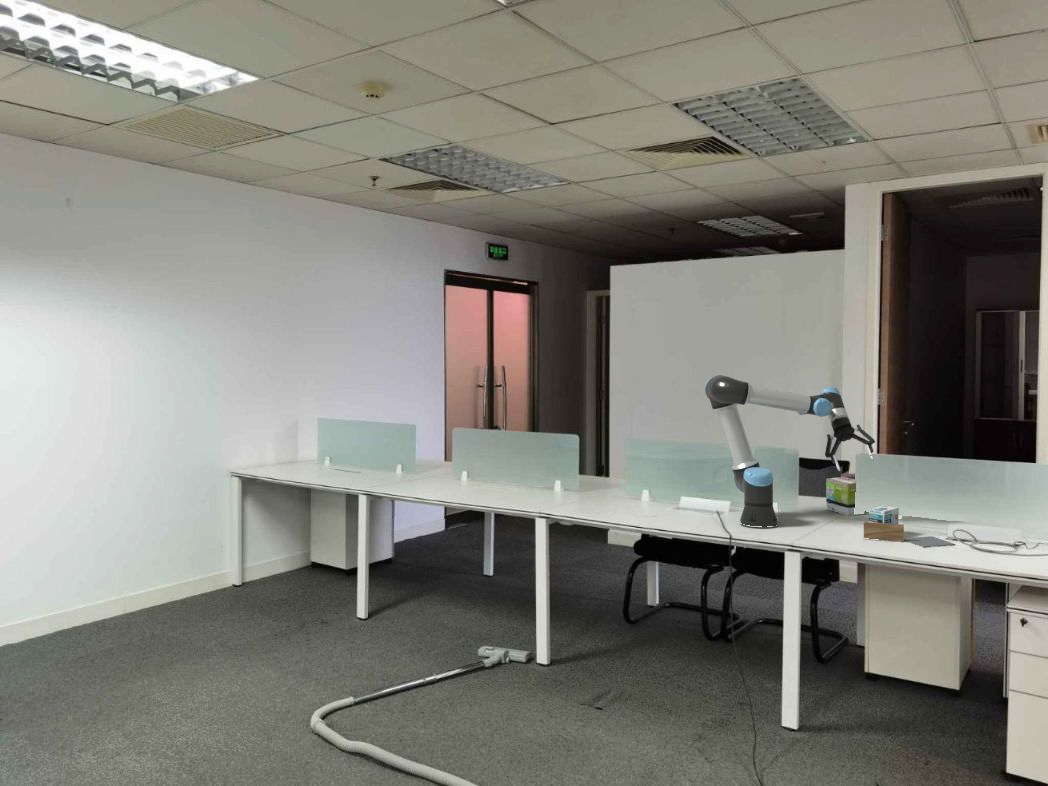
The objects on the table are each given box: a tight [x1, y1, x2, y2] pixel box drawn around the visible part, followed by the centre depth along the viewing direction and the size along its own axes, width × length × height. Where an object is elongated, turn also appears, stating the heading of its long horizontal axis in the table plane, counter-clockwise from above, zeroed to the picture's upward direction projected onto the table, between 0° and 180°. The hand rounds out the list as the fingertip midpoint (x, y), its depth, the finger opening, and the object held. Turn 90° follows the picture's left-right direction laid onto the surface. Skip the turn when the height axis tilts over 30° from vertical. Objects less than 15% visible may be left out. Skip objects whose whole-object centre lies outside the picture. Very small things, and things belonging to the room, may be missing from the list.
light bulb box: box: [868, 505, 900, 524], centre depth 314 cm, size 11×7×11 cm, turn 126°
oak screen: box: [863, 521, 905, 543], centre depth 305 cm, size 1×14×6 cm, turn 65°
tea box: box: [825, 476, 856, 517], centre depth 358 cm, size 15×10×15 cm, turn 17°
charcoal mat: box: [904, 535, 956, 548], centre depth 301 cm, size 13×13×1 cm
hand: (855, 465), depth 331 cm, fingers open, 13 cm apart
